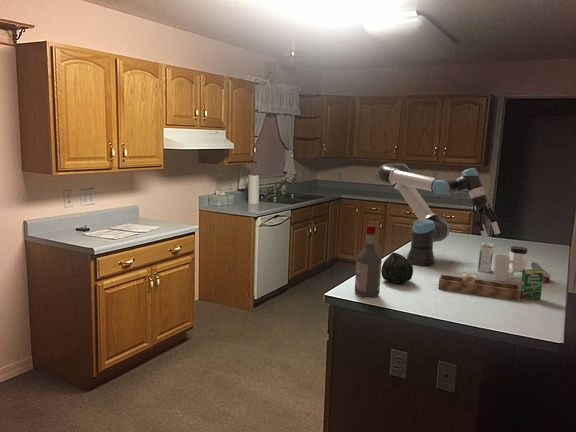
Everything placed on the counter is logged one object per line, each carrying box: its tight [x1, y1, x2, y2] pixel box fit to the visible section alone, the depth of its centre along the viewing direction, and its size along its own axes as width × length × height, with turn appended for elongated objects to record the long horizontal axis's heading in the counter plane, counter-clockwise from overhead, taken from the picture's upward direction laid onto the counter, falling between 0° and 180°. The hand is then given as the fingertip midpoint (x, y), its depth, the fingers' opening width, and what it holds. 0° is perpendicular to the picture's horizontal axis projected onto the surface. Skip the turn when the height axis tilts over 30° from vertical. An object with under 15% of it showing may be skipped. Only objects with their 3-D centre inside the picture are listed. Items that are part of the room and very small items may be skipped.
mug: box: [493, 254, 517, 282], centre depth 236 cm, size 10×7×12 cm, turn 55°
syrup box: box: [477, 242, 495, 273], centre depth 253 cm, size 6×6×14 cm
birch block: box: [462, 272, 476, 284], centre depth 217 cm, size 5×5×4 cm
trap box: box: [437, 273, 521, 302], centre depth 216 cm, size 34×10×4 cm, turn 67°
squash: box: [381, 252, 414, 285], centre depth 227 cm, size 14×15×15 cm
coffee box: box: [520, 268, 543, 301], centre depth 208 cm, size 8×3×13 cm, turn 90°
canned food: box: [530, 261, 551, 284], centre depth 240 cm, size 11×10×10 cm
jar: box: [508, 245, 529, 272], centre depth 259 cm, size 9×8×12 cm
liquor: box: [354, 224, 382, 298], centre depth 204 cm, size 9×9×30 cm
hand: (491, 235), depth 250 cm, fingers open, 13 cm apart
